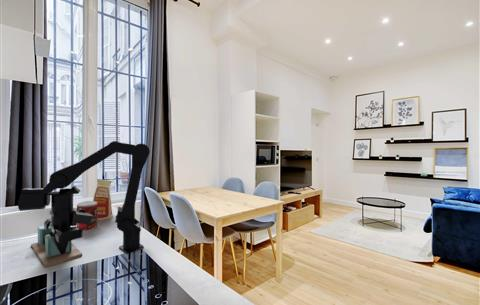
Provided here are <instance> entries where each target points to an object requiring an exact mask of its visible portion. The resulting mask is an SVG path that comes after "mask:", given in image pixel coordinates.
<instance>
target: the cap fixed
mask: <svg viewBox="0 0 480 305" xmlns="http://www.w3.org/2000/svg"><path fill="white" fill-rule="evenodd" d="M50 232H52V229H51V227H50V226H49V228H48V229H45V228H44V225H41V226H40V225H39V226H37V242H38V244H39V245H40V246H41V245H43V243H42V242H45V235H49V233H50Z"/></svg>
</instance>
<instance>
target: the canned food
mask: <svg viewBox="0 0 480 305" xmlns="http://www.w3.org/2000/svg"><path fill="white" fill-rule="evenodd" d="M78 209H84V210H85V212H86V213H89V214H91V215H93V218H92V221H91V223H90V225H86V224H79V223H77V225H76V227H78V228H79V229H81V230H82V231H87V230H92V229H95V228H96V227H97V226H98V220H97V202H95V201H93V200H88V201H81V202H78V203H77V204H76V211H77V210H78Z"/></svg>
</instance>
